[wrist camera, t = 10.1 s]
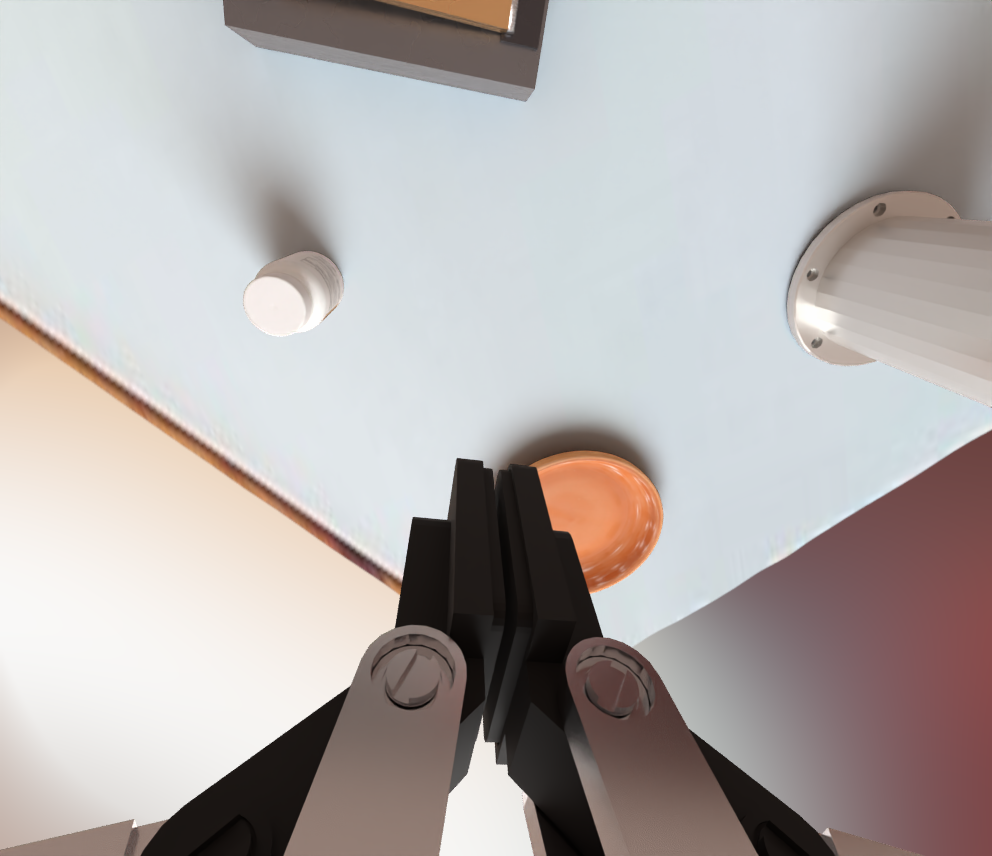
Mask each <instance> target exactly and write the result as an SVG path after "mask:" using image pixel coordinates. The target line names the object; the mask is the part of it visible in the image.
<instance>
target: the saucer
mask: <svg viewBox="0 0 992 856" xmlns="http://www.w3.org/2000/svg"><path fill="white" fill-rule="evenodd" d="M529 466H532V467H536V468H537V471H538V475H539V478H540V482H541V486H542V490H543V494H544V498H545V501H546V505H547V509H548V513H549V517H550V521H551V525H552V528H553V530H556V531H566V532H569V533H570V534H571V536H572V539H573V542H574V545H575V548H576V551H577V554H578V558H579V561H580V564H581V567H582V571H583V574H584V577H585V580H586V583H587V587H588V590H589V593H590V594H591V593H594V592H598V591H601V590H603V589H606V588H608V587H610V586H612V585H614V584H616V583H618V582H620V581H621V580H623V579H624V578H626V577H627V576H629V575H630V574H631V573H633V572H634V571H635V570H636V569H637V568H638V567H639V566H640V565H641V564H642V563H643V562H644V561H645V560H646V559H647V558H648V556H649V555H650V554H651V552H652V550H653V549H654V547H655V545H656V543H657V541H658V539H659V536H660V533H661V529H662V524H663V508H662V503H661V499H660V496H659V493H658V491H657V489H656V488H655V486H654V484H653V483H652V482H651V480H650V479H649V478H648V477H647V476H646V475H645V474H644V473H643V472H642V471H641V470H640V469H639V468H637V467H636V466H635V465H633V464H632V463H630V462H629V461H627V460H625V459H623V458H620V457H618V456H615V455H612V454H608V453H604V452H598V451H571V452H565V453H560V454H556V455H553V456H550V457H547V458H544V459H542V460H539V461H537V462H535V463H533V464H531V465H529Z"/></svg>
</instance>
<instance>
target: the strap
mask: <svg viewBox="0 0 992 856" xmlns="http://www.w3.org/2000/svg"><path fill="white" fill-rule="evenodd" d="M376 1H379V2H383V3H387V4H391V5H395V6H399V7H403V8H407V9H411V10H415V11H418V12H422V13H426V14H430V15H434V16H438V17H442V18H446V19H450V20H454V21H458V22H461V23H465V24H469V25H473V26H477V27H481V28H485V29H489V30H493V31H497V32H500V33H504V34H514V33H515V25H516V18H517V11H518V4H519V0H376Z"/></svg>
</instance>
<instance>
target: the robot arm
mask: <svg viewBox="0 0 992 856" xmlns="http://www.w3.org/2000/svg"><path fill="white" fill-rule="evenodd" d="M787 315H788V323H789V326H790V329H791V332H792V335H793V337H794V338H795V340H796V341H797V343H798V345H799V346H800V347H801V348H802V349H804V350H805V351H806V352H807V353H808V354H810V355H812V356H814V357H815V358H817V359H819V360H822V361H824V362H827V363H829V364H833V365H840V366H858V365H863V364H868V363H872V362H875V361H879V362H882V363H884V364H886V365H889V366H891V367H894V368H896V369H899V370H901V371H903V372H906V373H908V374H911V375H913V376H916V377H918V378H921V379H923V380H925V381H928V382H930V383H933V384H935V385H938V386H940V387H942V388H945V389H947V390H950V391H952V392H955V393H957V394H959V395H962V396H964V397H967V398H969V399H972V400H974V401H976V402H979V403H981V404H984V405H986V406H989V407H991V408H992V221H981V220H964V219H961V218H960V216H959V215H958V213H957V212H956V211H955V209H954V208H953V207H952V205H950V204H949V203H948V202H946V201H945V200H943V199H942V198H941V197H939V196H936V195H933V194H930V193H927V192H918V191H895V192H888V193H884V194H880V195H876V196H873V197H870V198H868V199H866V200H864V201H861V202H859V203H857V204H855V205H854V206H852V207H851V208H849V209H848V210H846V211H844V212H843V213H841V214H840V215H839V216H837V217H836V218H835V219H834V220H833V221H832V222H831V223H829V224H828V225H827V226H826V227H825V228H824V229H823V230H822V231H821V232H820V234H819V235H818V236H817V237H816V238H815V239H814V240H813V242H812V243H811V244H810V246H809V247H808V249H807V250H806V252H805V253H804V255H803V257H802V258H801V260H800V262H799V264H798V266H797V268H796V271H795V273H794V275H793V278H792V281H791V285H790V288H789V292H788V301H787ZM482 715H483V727H484V740H485V742H495V753H496V764H504V765H505V764H507V766H508V775H509V776H510V777H511V778H512V779H513V780H514V782H515V783H516V784H517V785H518V786H519V787H520V788H521V789H522V790H523V792H522V796H523V808H524V813H525V817H526V822H527V826H528V831H529V835H530V840H531V844H532V849H533V853H534V856H923V855H920V854H916V853H913V852H909V851H906V850H903V849H899V848H896V847H892V846H889V845H886V844H882V843H878V842H875V841H871V840H869V839H865V838H862V837H858V836H855V835H851V834H848V833H845V832H841V831H838V830H834V829H831V828H827V829H826V830H825V831H824V832H823V833H822V834H820V833H818V832H817V831H816V830H815V829H814V828H812V827H811V826H810V825H809V824H808V823H807V822H806V821H805V820H804V819H803V818H802V817H800V815H798V814H797V813H796V812H795V811H793V810H792V809H791V808H789V807H788V806H787V805H786V804H784V803H783V802H782V801H780V800H779V799H778V798H777V797H775V796H774V795H773V794H771V793H770V792H769V791H768V790H766V789H765V788H764V787H763V786H761V785H760V784H759V783H757V782H756V781H755V780H754V779H752V778H751V777H750V776H749V775H747V774H746V773H745V772H743V771H742V770H741V769H740V768H738V767H737V766H736V765H734V764H733V763H732V762H731V761H729V760H728V759H727V758H725V757H724V756H723V755H722V754H720V753H719V752H718V751H717V750H715V749H714V748H713V747H711V746H710V745H709V744H708V743H706V742H705V741H704V740H702V739H701V738H700V737H698V736H697V735H696V734H695V733H694V732H692V731H691V730H690V729H688V727H687V725H686V723H685V721H684V720H683V718H682V716H681V714H680V712H679V711H678V709H677V707H676V705H675V703H674V702H673V700H672V698H671V696H670V694H669V692H668V691H667V689H666V687H665V685H664V683H663V681H662V680H661V678H660V676H659V675H658V673H657V672H656V671H655V669H654V668H653V666H652V665H651V663H650V662H649V661H648V660H647V659H646V658H644V657H643V656H642V655H641V654H640V653H639V652H638V651H636V650H635V649H633V648H631V647H630V646H628V645H626V644H625V643H623V642H620V641H617V640H614V639H611V638H603V635H602V632H601V629H600V625H599V622H598V619H597V616H596V612H595V609H594V606H593V603H592V600H591V596H590V593H589V590H588V587H587V583H586V580H585V577H584V574H583V571H582V567H581V564H580V561H579V558H578V554H577V551H576V548H575V545H574V542H573V539H572V536H571V534H570V533H569V532H566V531H556V530H553V528H552V525H551V521H550V517H549V513H548V509H547V505H546V501H545V498H544V494H543V490H542V486H541V482H540V478H539V475H538V471H537V468H536V467H532V466H523V465H514V464H510V465H509V467H508V471H507V470H499V472H498V476H497V481H496V486H495V490H494V480H493V471H492V469H489V468H484V467H483V461H479V460H470V459H461V458H457V460H456V465H455V472H454V478H453V485H452V492H451V499H450V505H449V512H448V519H447V520H440V519H430V518H419V517H413V519H412V524H411V531H410V537H409V543H408V550H407V556H406V562H405V568H404V575H403V581H402V587H401V594H400V600H399V606H398V613H397V619H396V625H395V628H394V629H392V630H390V631H388V632H386V633H384V634H382V635H381V636H379V637H378V638H377V639H376V640H375V641H374V642H373V643H372V644H371V645H370V646H369V647H368V649H367V651H366V652H365V654H364V656H363V657H362V659H361V661H360V664H359V666H358V669H357V672H356V674H355V677H354V679H353V682H352V684H351V686H350V687H348V688H347V689H345V690H344V691H343V692H341V693H340V694H338V695H337V696H336V697H334V698H333V699H332V700H330V701H329V702H327V703H326V704H325V705H323V706H322V707H320V708H319V709H318V710H316V711H315V712H313V713H312V714H311V715H309V716H308V717H307V718H305V719H304V720H302V721H301V722H300V723H298V724H297V725H295V726H294V727H293V728H291V729H290V730H289V731H287V732H286V733H284V734H283V735H282V736H280V737H279V738H277V739H276V740H275V741H274V742H272V743H271V744H269V745H268V746H266V747H265V748H263V749H262V750H261V751H259V752H258V753H257V754H255V755H254V756H252V757H251V758H250V759H248V760H247V761H245V762H244V763H243V764H241V765H240V766H238V767H237V768H236V769H234V770H233V771H232V772H230V773H229V774H227V775H226V776H225V777H223V778H222V779H221V780H219V781H218V782H217V783H215V784H214V785H212V786H211V787H209V788H208V789H207V790H205V791H204V792H202V793H201V794H200V795H198V796H197V797H196V798H194V799H193V800H191V801H190V802H189V803H187V804H186V805H184V806H183V807H182V808H181V809H180V810H179V811H178V812H177V813H175V815H173V816H172V817H171V818H170V819H169V820H165V821H160V822H156V823H152V824H148V825H143V826H139V827H137V825H136V822H135V820H134V819H133V820H129V821H124V822H120V823H115V824H111V825H106V826H102V827H98V828H93V829H89V830H85V831H81V832H76V833H72V834H67V835H63V836H59V837H54V838H50V839H46V840H41V841H37V842H33V843H28V844H24V845H20V846H15V847H11V848H6V849H2V850H0V856H439V851H440V845H441V838H442V833H443V826H444V820H445V813H446V807H447V801H448V794H449V793H450V792H451V791H452V790H453V789H454V788H455V787H456V786H457V784H458V783H459V782H460V781H461V780H462V779H463V778H464V777H465V776H466V775H467V773H468V769H469V765H470V760H471V757H472V753H473V748H474V744H475V741H476V739H477V735H478V731H479V727H480V723H481V719H482Z"/></svg>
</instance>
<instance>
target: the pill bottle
mask: <svg viewBox="0 0 992 856" xmlns="http://www.w3.org/2000/svg"><path fill="white" fill-rule="evenodd" d="M343 292H344V283H343V279H342V276H341V273H340V271H339V270H338V268H337V267H336V265H335V264H334V263H333V262H332V261H331V260H330V259H328V258H327V257H326V256H324V255H322V254H320V253H317V252H313V251H301V252H297V253H294V254H292V255H289V256H287V257H284V258H281V259H279V260H276V261H273V262H271V263H269V264H267V265H266V266H264V267H263V268H262V269H261V270H260V271H259V272H258V274H257V275H256V277H255V279H254V280H253V281H251V282H250V283H249V285H248V286H247V287H246V289H245V291H244V296H243V306H244V309H245V312H246V314H247V316H248V318H249V320H250V321H251V322H252V323H253V324H254V325H255V326H256V327H257V328H258V329H260V330H261V331H263V332H265V333H267V334H270V335H273V336H288V335H291V334H293V333H299V332H305V331H308V330H311V329H312V328H314V327H316V326H317V325H318V324H320V323H321V322H322V321H323V320H324V319H325V318H326V317H327V316H328V315H329V314H330V313H331V312H332V311H333V310H334V309H335V308H336V307H337V306H338V305H339V303H340V302H341V300H342V297H343Z"/></svg>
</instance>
